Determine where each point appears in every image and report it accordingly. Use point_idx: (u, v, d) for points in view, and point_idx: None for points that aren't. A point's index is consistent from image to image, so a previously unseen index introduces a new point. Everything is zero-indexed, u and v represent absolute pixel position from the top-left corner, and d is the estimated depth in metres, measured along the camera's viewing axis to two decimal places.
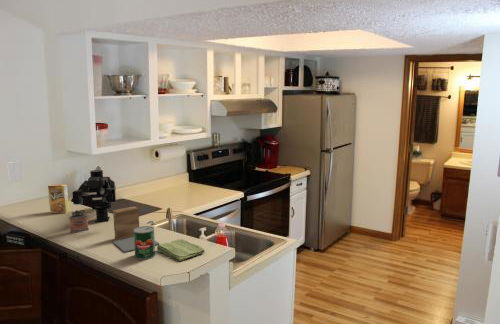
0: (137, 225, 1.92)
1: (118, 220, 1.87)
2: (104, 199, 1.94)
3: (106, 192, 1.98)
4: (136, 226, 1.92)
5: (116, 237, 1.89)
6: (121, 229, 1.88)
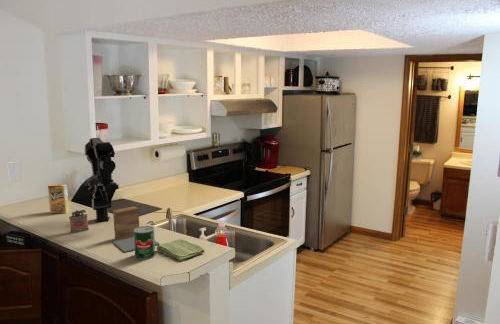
0: (137, 225, 1.92)
1: (118, 220, 1.87)
2: (110, 199, 2.01)
3: (104, 191, 1.98)
4: (136, 226, 1.92)
5: (116, 237, 1.89)
6: (121, 229, 1.88)
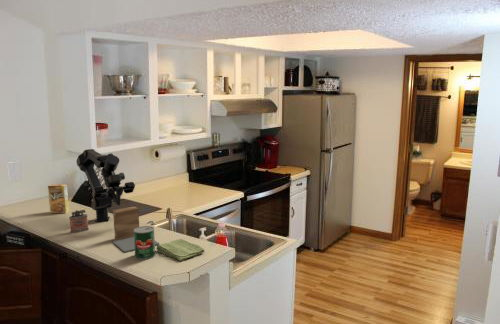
0: (137, 225, 1.92)
1: (118, 220, 1.87)
2: (119, 201, 1.99)
3: (119, 191, 1.99)
4: (136, 226, 1.92)
5: (116, 237, 1.89)
6: (121, 229, 1.88)
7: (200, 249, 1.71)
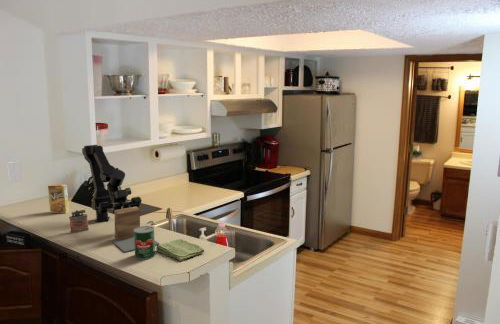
0: (138, 226, 1.92)
1: (119, 221, 1.86)
2: None
3: (125, 207, 1.94)
4: (137, 227, 1.92)
5: (116, 237, 1.89)
6: (122, 230, 1.88)
7: (200, 249, 1.72)
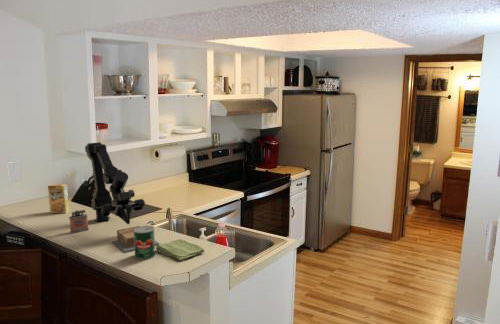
0: None
1: None
2: None
3: (128, 209, 1.91)
4: None
5: (118, 235, 1.88)
6: None
7: (200, 249, 1.72)
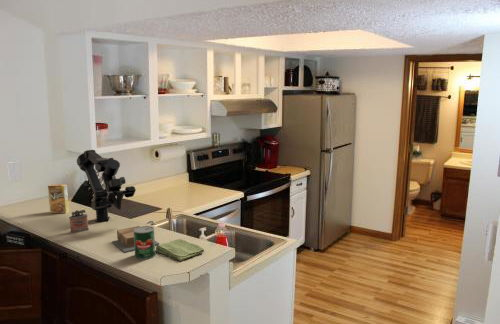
0: None
1: None
2: (120, 205, 1.99)
3: (120, 195, 1.99)
4: None
5: (118, 235, 1.88)
6: None
7: (200, 249, 1.72)
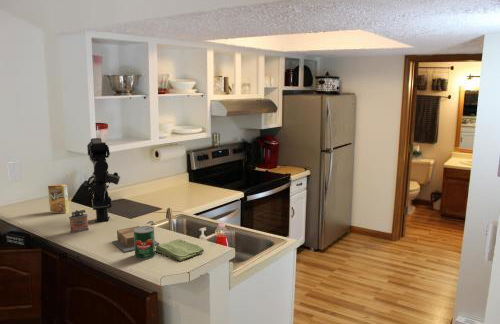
0: None
1: None
2: None
3: None
4: None
5: (118, 235, 1.88)
6: None
7: (200, 249, 1.72)
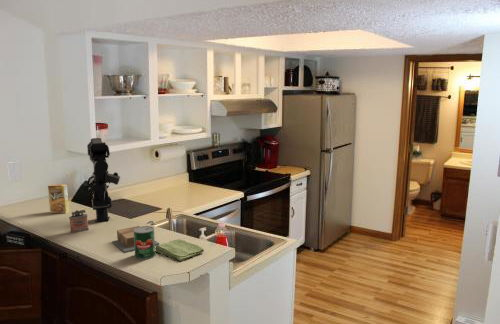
0: None
1: None
2: None
3: None
4: None
5: (118, 235, 1.88)
6: None
7: (199, 249, 1.72)
